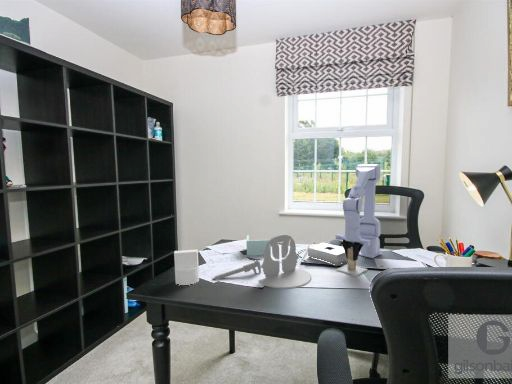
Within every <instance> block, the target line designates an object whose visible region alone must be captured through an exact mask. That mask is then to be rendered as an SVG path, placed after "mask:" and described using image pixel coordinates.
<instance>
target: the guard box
mask: <svg viewBox="0 0 512 384" xmlns="http://www.w3.org/2000/svg"><path fill="white" fill-rule="evenodd" d="M308 256H310V257H313V258H317V259H321V260H324V261H327V262H330V263H332V264H335V265H334V266H335V267H338V265H339V264H341V263H343V264H345V263H344V262H346V261H348V259H347V257H346V253H345V250H344V248H343V246H339V245H335V244H331V243H327V242H320V243H318V244H315V245H312V246H309V247H307V257H308ZM346 263H347V262H346ZM341 265H342V264H341ZM339 266H340V265H339Z"/></svg>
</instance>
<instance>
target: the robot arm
mask: <svg viewBox="0 0 512 384" xmlns="http://www.w3.org/2000/svg"><path fill="white" fill-rule="evenodd" d="M355 175H356V182H355V185H352V187H350V188H351V189H350V191H349V192H348V193H349V194H348V195H347V197H346V198H345V199H343V201H342V209H343V215H344V234H340V233H338V234H335V240H339V241H341V242H340V245H341V247H343V248H344V250H345V253H346V257H347V259H348V248H350V247H352V248H353V260H354V261H356V262H357V260H358V259H359V256H361V257H362V256H363V257H366V258H371V259H373V258H376V257H378V256H380V255H382V252H380V251H381V249H380V248H381V243H380V242H381V240H380V238H379V237H380V236H381V233H382V228H381V221H380V220H379V219H378V218H377V217H375V211H376V210H375V208H376V207H375V206H376V186H377V183H379V182H380V181H381V166H380V164H379V163H376V164H375V163H374V164H357V165H356V167H355ZM363 199H364V201H363ZM362 210H363V217H361V212H362Z"/></svg>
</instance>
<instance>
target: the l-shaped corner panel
mask: <svg viewBox="0 0 512 384" xmlns="http://www.w3.org/2000/svg"><path fill="white" fill-rule="evenodd" d="M269 240H270V239H251V240H250V235H249V234H246V243H245V244H246V256H264V250H265V247H266V244H267V243H268V241H269ZM269 248H270V255H272V247H271V245H270V244H269Z"/></svg>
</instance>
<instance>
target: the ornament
mask: <svg viewBox="0 0 512 384" xmlns="http://www.w3.org/2000/svg"><path fill="white" fill-rule="evenodd" d="M268 240H269V241H268V243H267V244H266V247H265V250H264V255H263V257H264V258H263V261H262V263H261V264H260V265H261V270H262V272H263V275H264V276H265V277H264V278H262V279H258V281H259V282H260V283H259V282H258V283H259V284H261V283H262V284H261V285H263V286H266V287H269V288H271V289H272V288H273V289H279V290H280V289H282V290H289V289H290V290H292V289H296V288H301V287H304V286H306V285H308V284H309V283H310V282H311V281H312V275H311V273H309V272H308V271H307V270H305V269H303V268H300V267H299V268H296V267H297V265H298V259H299V258H300V257H299V255H298V254H297V252H296V251H297V246H296V242H295V240H294V239H293V237H292V236H290V235H288V234H278V235H276V236H273V237H271V238H270V239H268ZM278 243H281V247H280V245H279V244H278ZM269 244H270V245H271V255H272V257H273V258H274V259H275V260H274V259H273V258H272V257H271V255H270V248H269ZM280 248H281V249H280ZM280 250H281V251H280ZM280 252H281V258H282V259H281V262H280ZM280 263H281V265H280ZM280 266H281V270H282V273H280Z"/></svg>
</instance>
